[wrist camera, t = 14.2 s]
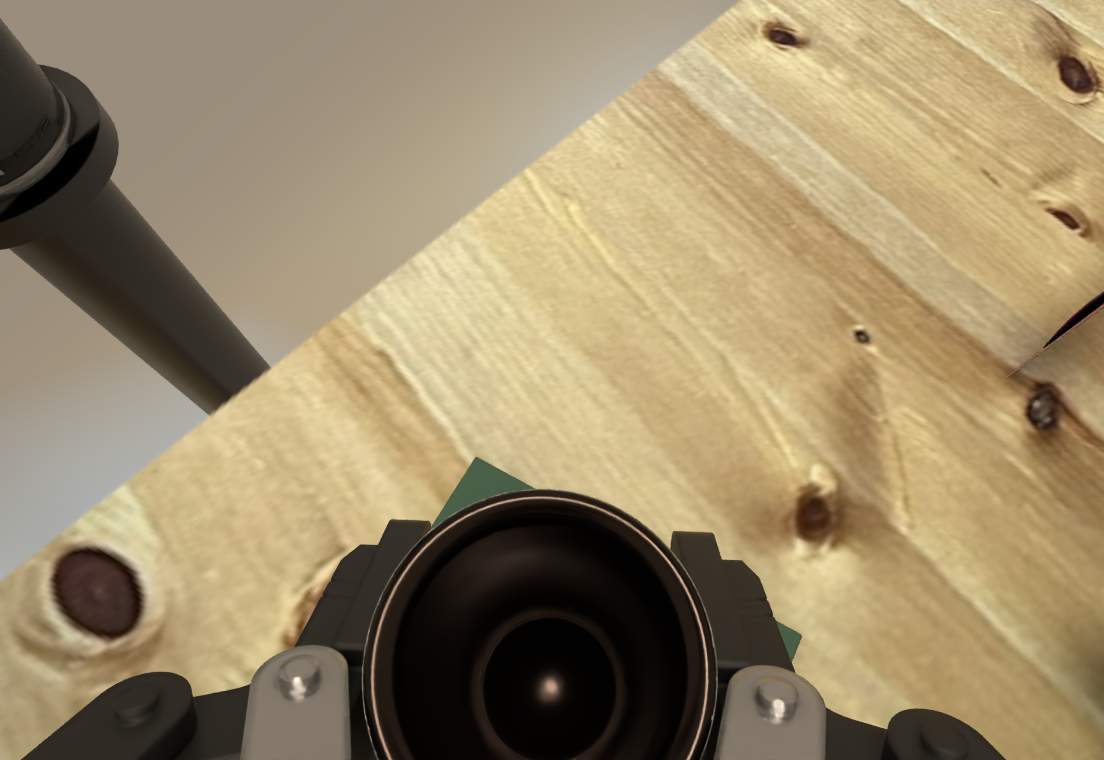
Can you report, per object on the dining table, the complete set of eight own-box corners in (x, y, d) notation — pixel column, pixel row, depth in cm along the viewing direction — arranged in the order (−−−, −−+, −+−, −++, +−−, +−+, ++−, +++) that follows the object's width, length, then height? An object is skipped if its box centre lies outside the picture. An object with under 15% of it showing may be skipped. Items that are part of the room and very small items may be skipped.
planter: (586, 829, 17) (618, 964, 8) (426, 726, 18) (284, 737, 9) (668, 651, 19) (775, 588, 9) (517, 565, 20) (479, 431, 10)
